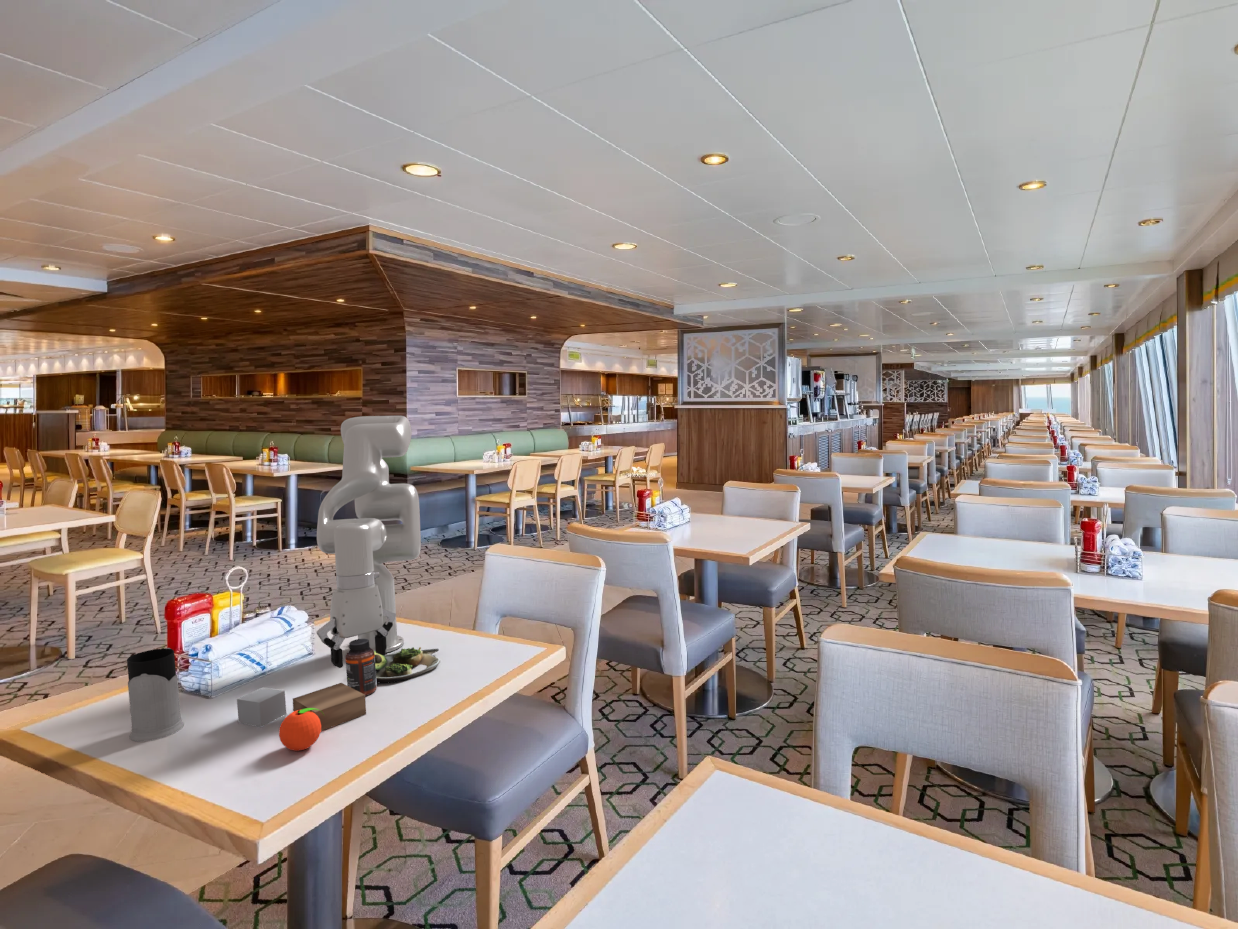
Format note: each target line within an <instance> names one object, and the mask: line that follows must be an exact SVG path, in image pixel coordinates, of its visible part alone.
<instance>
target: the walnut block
mask: <svg viewBox="0 0 1238 929" xmlns="http://www.w3.org/2000/svg"><path fill="white" fill-rule="evenodd" d="M366 704H367V703H366V696H365V695H364V694H363V693H361V692H359V691H357V690H355V689H353V688H351V687H349V686H347V684H345V683H343V682H339V683H335V684H333V685H330V686H327V687H323V688H320V689H318V690H315V691H311V692H309V693H305V694H302V695H300V696H297V697H294V698H292V709H293V711H292V712H294V711H297V710H301V709H306V708H315V709H319V710H310V711H312V712H314V713H315V714H316V715H317V716H318V717H319V719H320V722H321V732H322V731H325V730H328V729H331V728H333V727H335V726H338V725H341V724H343V723H346V722H350V721H352V720H354V719H356V718H357V719H358V718H361V717H363V716H365V715H367V707H366ZM321 711H322V712H323V713H322V712H321ZM323 714H324V715H323Z"/></svg>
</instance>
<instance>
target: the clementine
mask: <svg viewBox="0 0 1238 929" xmlns="http://www.w3.org/2000/svg"><path fill="white" fill-rule="evenodd" d="M310 710H319V709H315V708H306V709H301V710H297V711H292V712H291V713H289V714H288V715H287V716H285V717H284V719H283V720H282V722H281V724H280V727H279V729H278V737H279V740H280V742H281V744H282V745H283V746H284V747H285V748H287V749H289V750H291V751H297V752H299V751H303V750H306V749H309V748H310V747H311V746H313V745H314V744H315V743H316V742H317V740H318V739H319V737H320V735H321V732H322V731H321V722H320V719H319V717H318V716H317V715H316V714H315V713H314V712H312V711H310ZM321 712H322V711H321ZM322 713H323V712H322ZM323 715H324V714H323Z"/></svg>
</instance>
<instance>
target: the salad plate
mask: <svg viewBox="0 0 1238 929" xmlns="http://www.w3.org/2000/svg"><path fill="white" fill-rule="evenodd" d="M439 650H440V648H429V649H427V648H426V649H422V647H421V646H419V647H418V649H416V648H415V647H411V648H409V647H408V648H400V650H398V651H396V652H391V653H389V654H386V655H380V654H378V653H376V651H374V654H375V668H376V682H377V684H394V683H399V682H403V681H407V680H410V679H412V678H416V677H418V676H421V675H424V674H426V673H427V672H431V671H432V670H434V669H435V668H436V667H438V666H439V664H440V663H441V659H440V658H438V657H436V656H433V654H435V653H436V652H437V653H438V652H439ZM420 665H421V666H426V667H425V668H424V669H422V670H419V671H415V672H412V669H413V668H415V667H418V666H420Z"/></svg>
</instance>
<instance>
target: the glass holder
mask: <svg viewBox="0 0 1238 929" xmlns="http://www.w3.org/2000/svg"><path fill="white" fill-rule="evenodd" d="M126 663H127V666H126V667H127V675H128V682H127V688H128V689H127V690H128V700H129V710H130V713H129V714H130V723H131V732H130V734H129V739H130V740H131V741H133V742H149V741H151V742H152V741H156V740H159V739H163V738H166V737H169V736H171V735H174V734H176V733H177V732H179V731H180V730H182V729H183V727H185V722H184V721H183V719H182V717H181V706H180V693H179V683H178V681H179V679H178V674H177V671H176V656H175V650H174V649H172V648H170V647H164V648H154V649H149V650H144V651H141V652H138V653H135V654H132V655H130V656H129V657H127V659H126Z"/></svg>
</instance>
